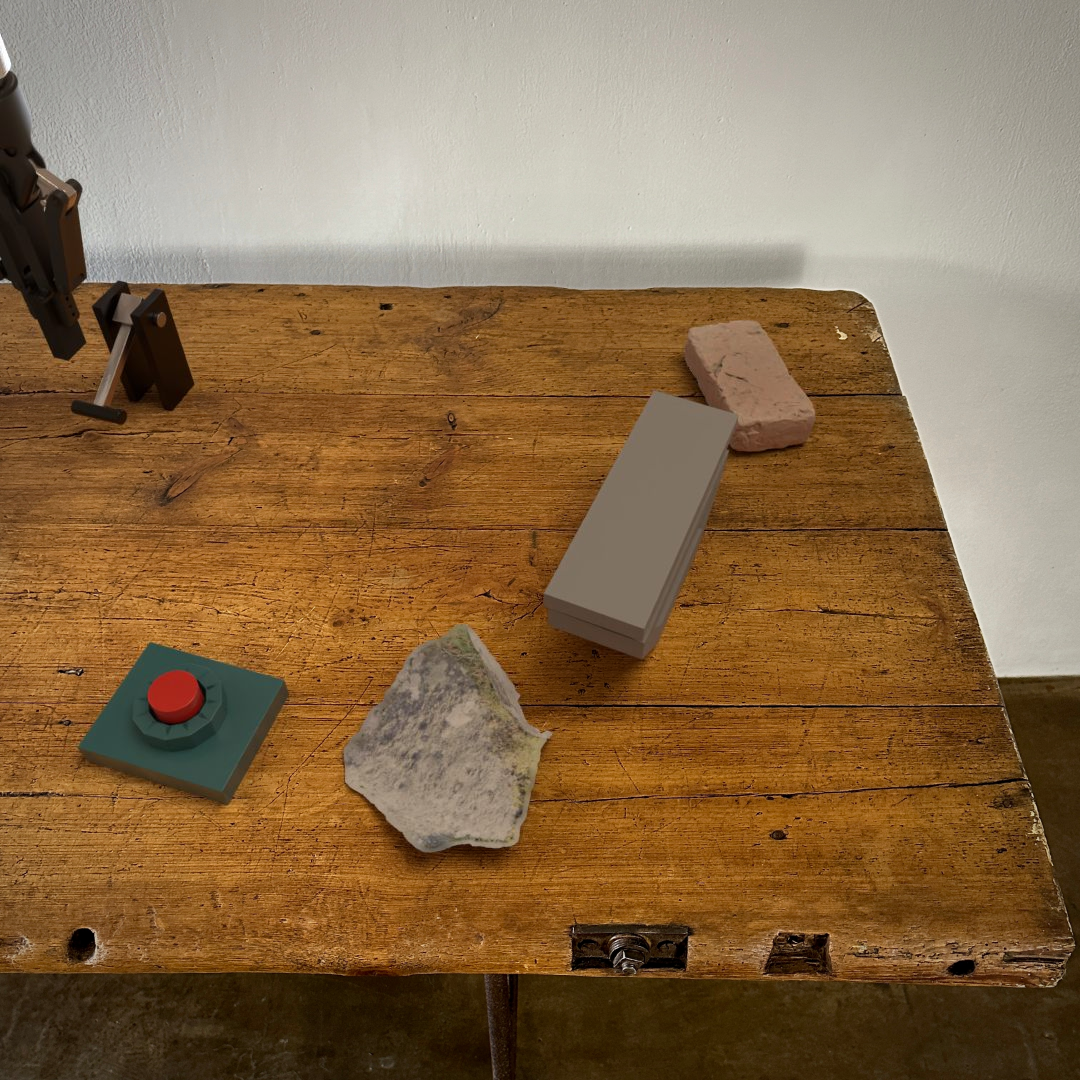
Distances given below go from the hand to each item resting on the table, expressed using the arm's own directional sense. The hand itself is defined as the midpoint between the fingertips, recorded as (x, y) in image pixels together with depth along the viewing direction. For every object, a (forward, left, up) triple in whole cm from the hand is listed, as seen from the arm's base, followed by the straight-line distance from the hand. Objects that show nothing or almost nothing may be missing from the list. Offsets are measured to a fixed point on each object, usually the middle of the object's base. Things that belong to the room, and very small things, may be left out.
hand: (70, 349), depth 85 cm
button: (+22, -24, -9) cm, 34 cm away
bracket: (0, +9, -13) cm, 16 cm away
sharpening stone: (+52, +1, -13) cm, 54 cm away
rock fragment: (+42, -20, -13) cm, 49 cm away
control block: (+22, -24, -13) cm, 36 cm away
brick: (+57, +28, -13) cm, 65 cm away
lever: (0, +5, -5) cm, 7 cm away
